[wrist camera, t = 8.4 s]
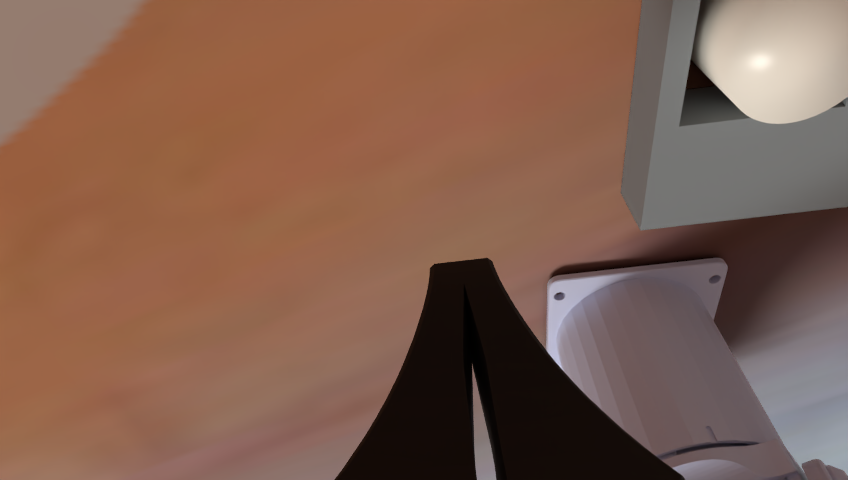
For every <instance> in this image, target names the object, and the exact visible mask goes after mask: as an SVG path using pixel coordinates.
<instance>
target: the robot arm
mask: <svg viewBox="0 0 848 480" xmlns="http://www.w3.org/2000/svg"><path fill="white" fill-rule="evenodd" d="M727 270H728V266H727V264H726V263H725V261H724V260H723V259H721V258H709V259H700V260H691V261H682V262H673V263H664V264H655V265H646V266H637V267H628V268H619V269H610V270H601V271H592V272H583V273H574V274H565V275H558V276H554V277H552V278H551V279H550V280H549V281H548V284H547V328H546V349H545V348H544V347H543V346H542V344H541V343H540V342H539V340H538V339H537V338H536V336H535V335H534V334H533V332H532V331H531V329H530V328H529V327H528V325H527V324H526V322H525V321H524V319H523V318H522V316H521V315H520V313H519V312H518V310H517V309H516V307H515V306H514V304H513V302H512V301H511V299H510V297H509V296H508V294H507V292H506V290H505V288H504V287H503V285H502V283H501V281H500V279H499V277H498V275H497V272H496V270H495V268H494V265H493V262H492V261H491V260H489V259H488V258H483V259H474V260H465V261H456V262H447V263H438V264H434V265H433V266H432V267H431V268H430V277H429V284H428V290H427V294H426V298H425V302H424V306H423V310H422V313H421V316H420V320H419V323H418V326H417V329H416V332H415V335H414V338H413V341H412V343H411V346H410V348H409V351H408V353H407V356H406V358H405V361H404V363H403V366H402V368H401V370H400V372H399V375H398V377H397V379H396V381H395V383H394V385H393V387H392V389H391V391H390V393H389V395H388V397H387V399H386V401H385V403H384V404H383V406H382V408H381V410H380V412H379V413H378V415H377V417H376V419H375V420H374V422H373V424H372V425H371V427H370V429H369V430H368V432H367V434H366V435H365V437H364V438H363V440H362V441H361V443H360V444H359V446H358V447H357V449H356V450H355V452H354V453H353V455H352V456H351V458H350V459H349V461H348V462H347V463H346V465H345V466H344V468H343V469H342V471H341V472H340V473H339V475H338V476H337V477H336V479H335V480H477V477H476V469H475V455H474V425H473V384H472V364H473V369H474V373H475V378H476V382H477V386H478V391H479V395H480V400H481V404H482V408H483V413H484V417H485V421H486V426H487V430H488V435H489V439H490V443H491V448H492V453H493V459H494V464H495V471H496V479H497V480H848V476H847V475H846V473H845V472H844V471H843V470H840V469H838V468H835V467H833V466H830V465H827V466H826V465H825V464H824V463H823V462H822V461H821V460H819V459H814V460H811V461H808V462H805V463H803V464H802V468H803V470H804V472H805V473H804V472H803V470H802V469H801V468H800V466H799V465H798V464H797V462H796V461H795V460H794V458H793V457H792V455H791V454H790V453H789V451H788V450H787V449H786V447H785V446H784V444H783V442H782V440H781V439H780V437H779V435H778V433H777V432H776V430H775V428H774V426H773V424H772V423H771V421H770V419H769V417H768V416H767V414H766V412H765V410H764V409H763V407H762V405H761V403H760V402H759V400H758V398H757V396H756V395H755V393H754V391H753V389H752V388H751V386H750V384H749V382H748V380H747V379H746V377H745V375H744V373H743V372H742V370H741V368H740V366H739V365H738V363H737V361H736V359H735V358H734V356H733V354H732V352H731V351H730V349H729V347H728V345H727V344H726V342H725V340H724V338H723V336H722V335H721V333H720V331H719V329H718V328H717V326H716V324H715V322H714V317H715V314H716V310H717V307H718V303H719V299H720V296H721V292H722V288H723V285H724V281H725V278H726V274H727ZM714 275H715V276H714ZM712 276H714V277H712ZM559 292H562V293H561V294H558V295H557V294H556V293H559Z"/></svg>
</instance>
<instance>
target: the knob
mask: <svg viewBox="0 0 848 480" xmlns="http://www.w3.org/2000/svg"><path fill="white" fill-rule="evenodd" d="M691 60H692V61H693V62H694V64H695V65H696V66H697V67H698V68H699V69H700V70H701V71H702V72H703V73H704V74H705V75H706V76H707V77H708V78H709V79H710V80H711V81H712V82H713V83H714V84H715V85H716V86H717V87H718V88H719V89H720V90H721V91H722V92H723V93H724V94H725V95H726V96H727V97H728V98H729V99H730V100H731V101H732V102H733V103H734V104H735V105H736V106H737V107H738V108H739V109H740V110H741V111H742V112H743V113H744V114H746V115H747V116H749V117H751V118H752V119H755V120H757V121H760V122H765V123H771V124H785V123H792V122H798V121H801V120H805V119H808V118H811V117H813V116H816V115H818V114H820V113H822V112H825V111H827V110H828V109H830V108H832V107H833V106H835V105H837V104H838V103H840V102H841V101H843V100H844V99H845V98H847V97H848V0H701V2H700V7H699V13H698V19H697V25H696V31H695V36H694V42H693V48H692V54H691Z"/></svg>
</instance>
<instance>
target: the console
mask: <svg viewBox="0 0 848 480" xmlns="http://www.w3.org/2000/svg"><path fill="white" fill-rule="evenodd" d="M700 2H701V0H642V7H641V16H640V25H639V34H638V43H637V52H636V61H635V70H634V79H633V87H632V96H631V105H630V114H629V123H628V132H627V141H626V150H625V159H624V168H623V177H622V186H621V194H622V196H623V198H624V200H625V202H626V204H627V206H628V208H629V210H630V212H631V214H632V215H633V217H634V219H635V221H636V223H637V225H638V227H639V229H640V230H648V229H657V228H666V227H675V226H683V225H692V224H701V223H710V222H718V221H727V220H736V219H745V218H754V217H762V216H771V215H780V214H789V213H797V212H806V211H815V210H824V209H832V208H841V207H848V97H847V98H845V99H844V100H843V101H841V102H840V103H838V104H837V105H835V106H833V107H832V108H830V109H828V110H827V111H825V112H822V113H820V114H818V115H816V116H813V117H811V118H808V119H805V120H801V121H798V122H792V123H785V124H771V123H765V122H760V121H757V120H755V119H752V118H751V117H749V116H747V115H746V114H744V113H743V112H742V111H741V110H740V109H739V108H738V107H737V106H736V105H735V104H734V103H733V102H732V101H731V100H730V99H729V98H728V97H727V96H726V95H725V94H724V93H723V92H722V91H721V90H720V89H719V88H718V87H717V86H712V87H704V88H696V89H688V90H685V89H686V83H687V77H688V71H689V66H690V60H691V54H692V48H693V42H694V36H695V31H696V25H697V19H698V13H699V7H700Z"/></svg>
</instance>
